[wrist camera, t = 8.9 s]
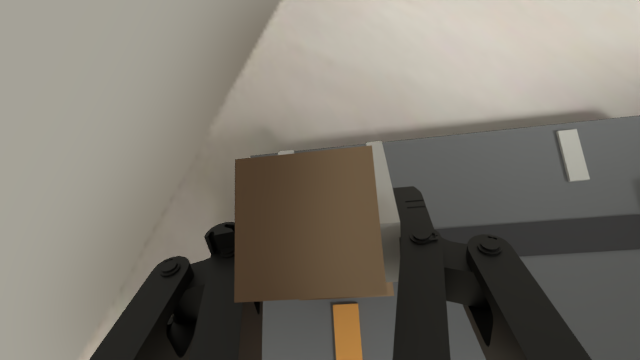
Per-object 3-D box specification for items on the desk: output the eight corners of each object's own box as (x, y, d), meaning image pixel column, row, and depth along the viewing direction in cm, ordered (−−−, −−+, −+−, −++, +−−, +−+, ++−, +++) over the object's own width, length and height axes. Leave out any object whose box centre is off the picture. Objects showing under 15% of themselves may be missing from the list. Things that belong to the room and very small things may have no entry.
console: (633, 127, 22) (675, 103, 19) (704, 356, 19) (770, 372, 16) (260, 164, 25) (244, 149, 22) (262, 367, 22) (244, 383, 18)
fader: (383, 204, 21) (397, 116, 9) (392, 294, 19) (422, 326, 8) (299, 211, 21) (210, 137, 10) (303, 298, 20) (205, 335, 8)
